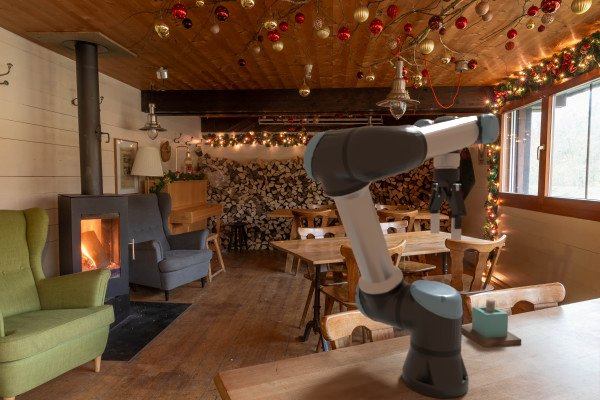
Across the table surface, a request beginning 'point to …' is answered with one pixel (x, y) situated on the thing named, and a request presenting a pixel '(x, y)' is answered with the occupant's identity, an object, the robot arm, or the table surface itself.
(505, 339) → the stand
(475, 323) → the teal open box
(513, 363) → the table surface
